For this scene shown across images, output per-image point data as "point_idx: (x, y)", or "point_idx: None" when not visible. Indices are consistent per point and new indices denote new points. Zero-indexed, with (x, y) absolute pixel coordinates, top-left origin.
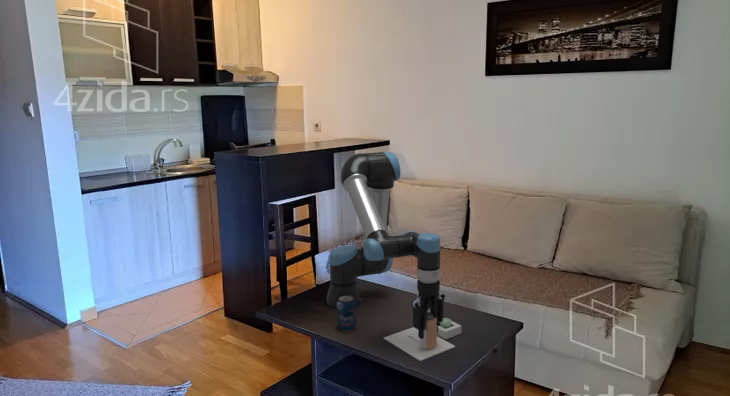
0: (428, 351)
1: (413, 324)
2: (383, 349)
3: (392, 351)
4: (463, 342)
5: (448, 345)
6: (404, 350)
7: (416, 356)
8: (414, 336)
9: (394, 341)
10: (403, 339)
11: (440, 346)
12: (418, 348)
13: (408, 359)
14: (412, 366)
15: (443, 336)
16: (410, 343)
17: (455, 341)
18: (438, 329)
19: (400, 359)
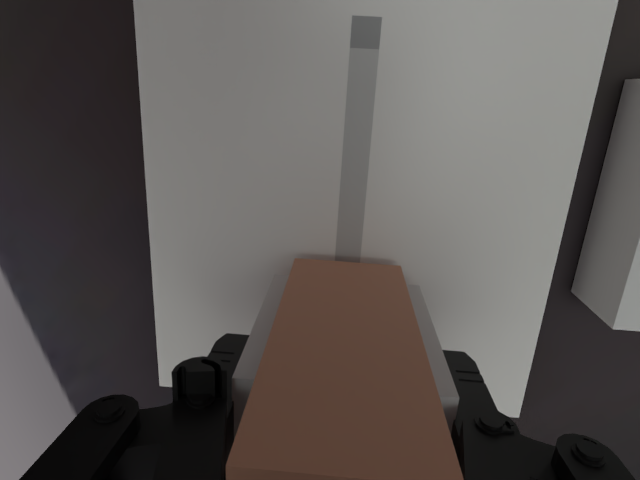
0: None
1: (61, 438)
2: (13, 58)
3: (65, 142)
4: (628, 408)
5: (490, 379)
6: (149, 211)
7: (171, 335)
8: (406, 65)
9: (172, 11)
10: (274, 39)
11: None
12: (267, 262)
13: (106, 315)
14: (77, 391)
15: (587, 277)
16: (272, 152)
17: (601, 361)
18: (632, 224)
19: (55, 278)
